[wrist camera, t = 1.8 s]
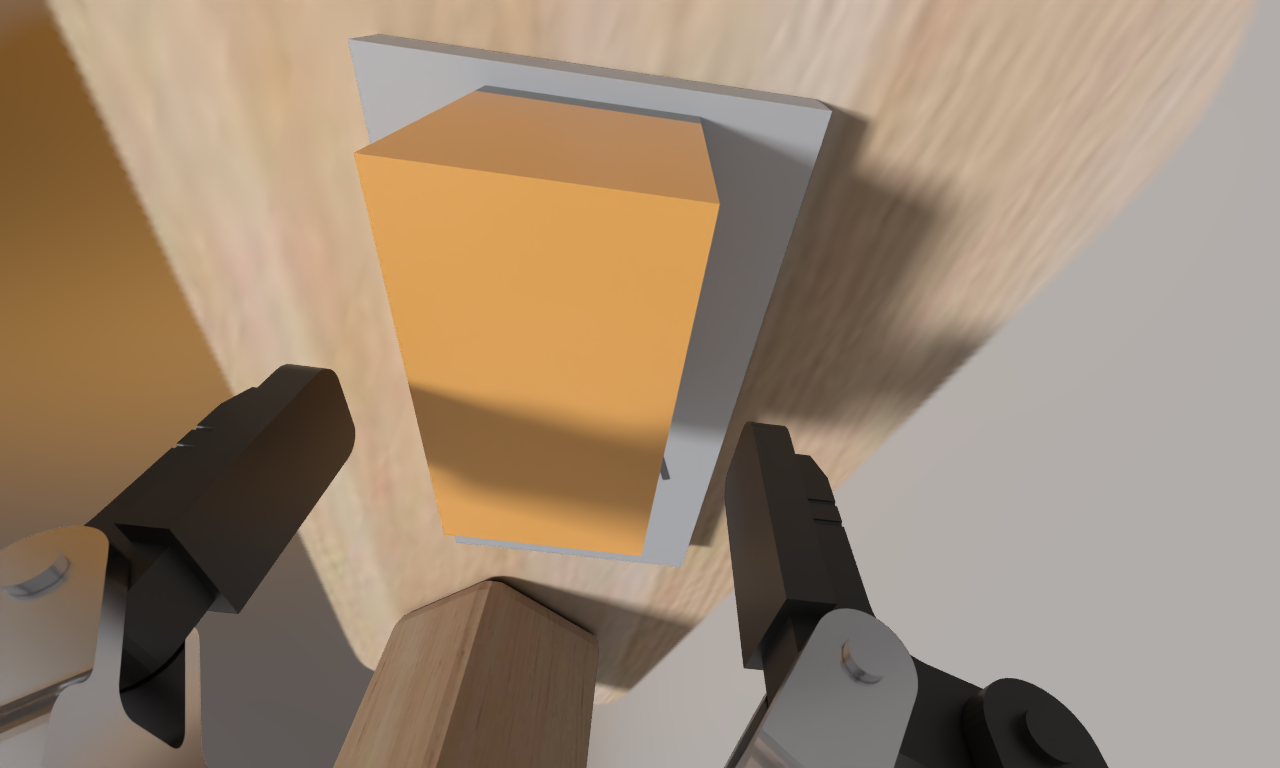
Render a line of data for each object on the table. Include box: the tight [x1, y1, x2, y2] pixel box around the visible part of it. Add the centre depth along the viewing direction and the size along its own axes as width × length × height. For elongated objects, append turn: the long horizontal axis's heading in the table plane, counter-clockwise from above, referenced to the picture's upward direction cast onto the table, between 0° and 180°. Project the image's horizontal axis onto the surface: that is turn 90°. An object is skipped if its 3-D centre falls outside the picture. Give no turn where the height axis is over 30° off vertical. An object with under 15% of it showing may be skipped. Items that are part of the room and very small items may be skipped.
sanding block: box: [354, 85, 720, 556], centre depth 12 cm, size 9×5×6 cm, turn 173°
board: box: [348, 34, 832, 567], centre depth 18 cm, size 20×11×2 cm, turn 173°
